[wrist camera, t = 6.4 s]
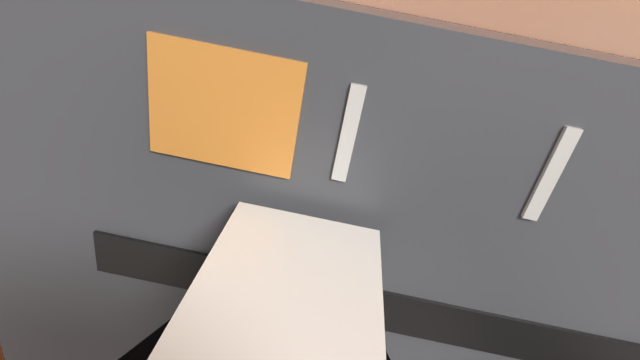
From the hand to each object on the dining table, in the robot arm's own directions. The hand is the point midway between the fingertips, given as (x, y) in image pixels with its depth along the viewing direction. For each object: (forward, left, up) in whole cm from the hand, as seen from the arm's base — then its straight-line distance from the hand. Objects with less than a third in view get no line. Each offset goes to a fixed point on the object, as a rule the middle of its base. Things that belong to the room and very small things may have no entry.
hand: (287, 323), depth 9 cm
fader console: (0, -4, -4) cm, 5 cm away
